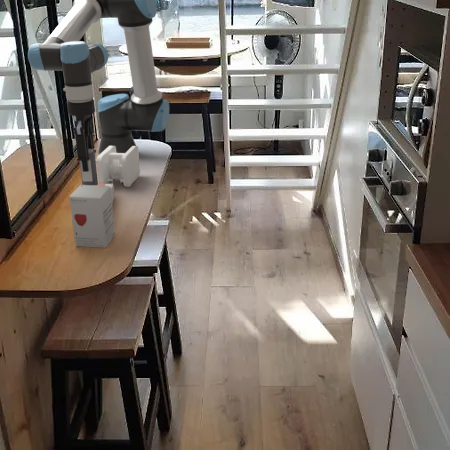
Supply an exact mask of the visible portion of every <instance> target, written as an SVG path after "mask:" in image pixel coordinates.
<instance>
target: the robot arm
mask: <svg viewBox="0 0 450 450" xmlns="http://www.w3.org/2000/svg"><path fill="white" fill-rule="evenodd" d="M157 4H158V3H157V0H73V3H72V8H71V9H70V10H69V11H68V13H67V14H66V15H65V16H64V18H63V19H62V20H61V21H60V23H59V24H58V25H57V26H56V27H55V29H54V30H52V33H51V34H50V35H49V36H48V37H47V38H46V40H45V41H44V42H43V43H41V42H38V43H33V44H30V46H29V48H28V50H27V59H28V62H29V65H30V66H31V68H32V69H34V70H36V71H37V70H38V71H45V72H47V71H49V72H50V71H53V72H55V71H56V72H60V71H61V72H62V75H63V80H64V83H63V84H64V87H63V88H62V89H63V92H65V96H66V97H65V98H66V100H67V101H66V108H67V114H68V115H69V116H73V117H75V120H74V127H73V132H74V137H75V146H76V152H77V153H76V154H77V159H76V161H78V162H79V161H80V162H79V164H80V163H81V170H80V172H81V171H82V178H81V180H82V179H83V182H85V181H93V180H92V171H91V162H90V159H89V151H88V149H93V151H94V152H95V154H96V152H97V153H98V155H100V154H101V153H102V152H103V151H104V150H105V149H106V148H107V147H109V146H115V147H116V153H126V152H127V151H128V150H129V149H130V148H131V147H132V146H137V144H136V142H135V140H134V137H133V135H132V134H133V133H132V131H138V132H140V131H141V132H151V133H154V132H163V131H164V130H165V129H166V127H167V124H168V122H169V118H170V117H169V116H170V103H169V101H168V100H166V99H163V98H164V97H163V93H162V92H161V91H159V90H158V84H157V77H156V76H157V75H156V70H155V63H154V62H155V61H154V54H153V48H152V40H151V32H150V26H151V25H152V23H153V18H155V17H156V15H157V11H158V8H157V7H158V6H157ZM104 18H115V19H117V23H118V26H120V28H122V29H123V32H124V38H125V44H126V51H127V58H128V62H129V71H130V77H131V81H132V88H133V94H132V95H131V96H129V94H127V93H117V94H111V95H106V96H104V97H102V98H100V99H99V100H98V101H97V107H98V108H97V113H98V119H99V120H98V121H99V126H100V127H99V128H100V142H99V146H98V151H97V150H96V149H95V147H96V146H95V142H94V131H93V122H92V121H93V117H92V116H91V115H93V114H95V112H96V106H95V100H94V99H93V98H95V94H94V86H93V80H92V78H93V77H92V73H94V72H96V71H99V70H101V69H102V68H103V67H105V66H106V65H107V63H108V60H109V53H108V50H107V49H106V47H105V46H104V45H103V44H101V43H100V42H89V43H87V42H85V41H81V39H82V38H83V36H84V35H85V33H86V32H87V31H88V29H90V27H91V25H92V24H95V23H97V22H98V21H100V20H101V19H104Z"/></svg>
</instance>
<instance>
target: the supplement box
mask: <svg viewBox="0 0 450 450" xmlns="http://www.w3.org/2000/svg"><path fill="white" fill-rule="evenodd" d="M68 198H69V204H70V205H69V206H70V212H71V219H72V230H73V235H74V245H75V247H84V248H85V247H89V248H105V249H106V248H107V247H108V245H109V244H110V243H111V241H112V240H113V238H114V236H115V235H116V229H115V221H114V220H115V219H114V210H113V202H112V197H111V186H98V185H82V184H80V185H79V186H78V187H77V188H76V189H75V190H74V191H73V192H72V193H70V195H69V197H68Z"/></svg>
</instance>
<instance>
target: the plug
mask: <svg viewBox="0 0 450 450" xmlns="http://www.w3.org/2000/svg"><path fill="white" fill-rule="evenodd" d="M93 150H94V149H88V151H89V159H90V162H91V171H92V180H93V181H85V182H83V179H82V171H81V163H80V161H78V162H79V167H80V168H79V169H80V178H81V185H98V183H99V180H98V171H97V163H96V155H95V154H96V153H95V152H94V151H93Z"/></svg>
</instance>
